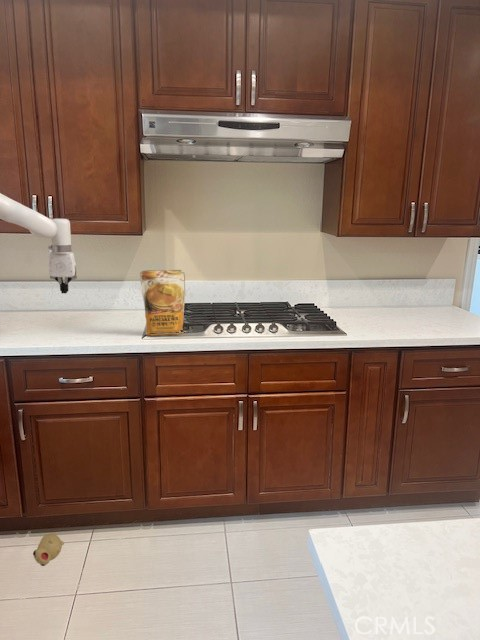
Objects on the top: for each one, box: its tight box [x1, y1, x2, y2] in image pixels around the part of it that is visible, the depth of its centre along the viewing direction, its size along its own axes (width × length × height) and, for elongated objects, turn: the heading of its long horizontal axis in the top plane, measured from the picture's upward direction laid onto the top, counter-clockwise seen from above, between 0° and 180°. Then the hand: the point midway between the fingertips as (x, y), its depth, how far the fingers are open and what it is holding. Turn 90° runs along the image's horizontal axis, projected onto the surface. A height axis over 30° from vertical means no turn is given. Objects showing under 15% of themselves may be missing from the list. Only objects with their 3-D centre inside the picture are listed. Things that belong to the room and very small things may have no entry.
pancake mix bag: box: [139, 269, 186, 337], centre depth 200 cm, size 7×19×28 cm, turn 102°
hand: (64, 292), depth 196 cm, fingers closed
